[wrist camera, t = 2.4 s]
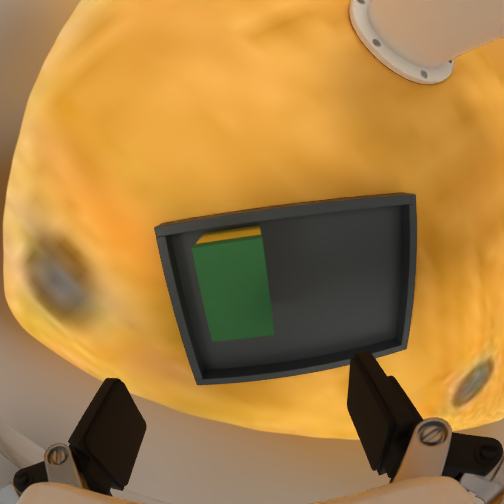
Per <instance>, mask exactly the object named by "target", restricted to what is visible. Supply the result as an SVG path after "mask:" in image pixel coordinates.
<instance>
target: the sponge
mask: <svg viewBox="0 0 504 504" xmlns="http://www.w3.org/2000/svg"><path fill="white" fill-rule="evenodd" d="M192 253H193V258H194V263H195V268H196V273H197V277H198V282H199V287H200V291H201V296H202V300H203V305H204V309H205V313H206V318H207V322H208V326H209V330H210V334H211V338H212V341H213V342H216V341H227V340H236V339H245V338H253V337H261V336H269V335H275V331H274V323H273V315H272V307H271V299H270V291H269V283H268V276H267V268H266V260H265V253H264V245H263V238H262V234H261V230H260V226H259V225H257V226H250V227H243V228H236V229H229V230H222V231H216V232H209V233H204V234H203V235H202V237H201V238H200V239H199V240H198V241H197V243H196V244H195V245H194V246H193V247H192Z"/></svg>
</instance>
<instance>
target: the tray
mask: <svg viewBox="0 0 504 504" xmlns="http://www.w3.org/2000/svg"><path fill="white" fill-rule="evenodd" d="M257 225H259V226H260V230H261V234H262V238H263V245H264V253H265V260H266V268H267V276H268V283H269V291H270V299H271V307H272V315H273V323H274V331H275V335H269V336H261V337H253V338H245V339H236V340H227V341H216V342H213V341H212V338H211V334H210V330H209V326H208V322H207V318H206V313H205V309H204V305H203V300H202V296H201V291H200V287H199V282H198V277H197V273H196V268H195V263H194V258H193V253H192V247H193V246H194V245H195V244H196V243H197V241H198V240H199V239H200V238H201V237H202V235H203V234H204V233H209V232H216V231H222V230H229V229H236V228H243V227H250V226H257ZM154 229H155V234H156V239H157V244H158V248H159V253H160V258H161V262H162V266H163V271H164V275H165V279H166V283H167V287H168V291H169V295H170V299H171V303H172V306H173V310H174V314H175V317H176V321H177V324H178V328H179V331H180V334H181V338H182V341H183V344H184V348H185V351H186V354H187V357H188V360H189V363H190V366H191V369H192V372H193V375H194V378H195V381H196V384H197V385H212V384H227V383H239V382H249V381H259V380H267V379H275V378H282V377H288V376H295V375H301V374H307V373H312V372H318V371H323V370H328V369H333V368H337V367H342V366H346V365H350V359H351V358H354V355H355V354H356V353H360V352H364V351H367V350H369V351H370V352H371V353H372V355H373V356H374V358H378V357H382V356H385V355H389V354H392V353H395V352H399V351H402V350H405V349H407V343H408V337H409V331H410V324H411V317H412V309H413V299H414V289H415V275H416V254H417V213H416V195H415V194H409V193H394V194H381V195H369V196H358V197H348V198H338V199H328V200H319V201H310V202H301V203H293V204H285V205H277V206H269V207H262V208H255V209H248V210H241V211H234V212H227V213H221V214H214V215H208V216H202V217H195V218H189V219H183V220H178V221H172V222H166V223H162V224H160V225H158V226H156V227H154Z"/></svg>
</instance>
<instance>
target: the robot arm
mask: <svg viewBox="0 0 504 504" xmlns="http://www.w3.org/2000/svg"><path fill="white" fill-rule="evenodd" d="M349 13H350V19H351V22H352V25H353V28H354V29H355V31H356V33H357V35H358V37H359V38H360V40H361V41H362V42H363V44H364V45H365V46H366V47H367V49H368V50H369V51H370V52H371V53H372V54H373V55H374V56H375V57H376V58H377V59H378V60H379V61H381V62H382V63H383V64H384V65H385V66H387V67H388V68H389V69H391V70H392V71H393V72H395V73H397V74H399V75H400V76H402V77H404V78H406V79H408V80H411V81H413V82H417V83H421V84H435V83H439V82H441V81H443V80H445V79H446V78H447V77H448V76H450V74H451V72H452V70H453V67H454V58H456V57H458V56H460V55H462V54H465V53H467V52H469V51H471V50H473V49H476V48H478V47H480V46H483V45H485V44H488V43H490V42H492V41H495V40H497V39H500V38H503V37H504V0H352V1H351V3H350V9H349ZM347 408H348V411H349V414H350V416H351V419H352V421H353V423H354V426H355V428H356V431H357V433H358V436H359V438H360V441H361V443H362V445H363V448H364V450H365V453H366V455H367V458H368V461H369V463H370V466H371V468H372V470H374V471H375V470H377V472H378V474H379V475H382V474H384V473H387V475H388V477H389V478H391V480H390V482H389V484H387V485H383V486H380V487H377V488H373V489H370V490H366V491H362V492H359V493H355V494H352V495H348V496H344V497H340V498H335V499H331V500H326V501H321V502H316V503H311V504H476V503H475V501H474V500H473V498H472V497H471V495H470V494H469V493H468V491H471V492H473V493H475V494H476V497H478V498H480V499H481V500H483V501H484V504H504V451H503V448H502V445H501V443H500V442H499V441H498V440H496V439H494V438H489V437H481V436H473V435H465V434H459V433H453V432H452V429H451V426H450V425H449V423H448V422H447V421H445V420H443V419H441V418H427V419H425V420H423V419H422V417H421V416H420V414H419V413H418V411H417V410H416V408H415V407H414V405H413V404H412V402H411V401H410V399H409V398H408V396H407V395H406V393H405V392H404V390H403V389H402V387H401V386H400V384H399V383H398V382H397V380H396V379H395V378H394V377H393V376H388V377H387V376H386V374H385V373H384V371H383V370H382V368H381V367H380V365H379V364H378V362H377V361H376V359H375V358H374V356H373V355H372V353H371V352H370V351H369V350H367V351H364V352H360V353H356V354H355V355H354V358H351V359H350V373H349V387H348V398H347ZM145 431H146V422H145V420H144V419H143V417H142V415H141V414H140V412H139V410H138V408H137V407H136V405H135V403H134V401H133V399H132V397H131V395H130V393H129V392H128V390H127V388H126V386H125V384H124V383H123V382H121V380H120V379H118V378H106V379H105V380H104V382H103V384H102V385H101V387H100V388H99V390H98V392H97V393H96V395H95V396H94V398H93V400H92V402H91V403H90V405H89V407H88V408H87V410H86V411H85V413H84V415H83V416H82V418H81V420H80V421H79V423H78V425H77V427H76V428H75V430H74V432H73V434H72V435H71V437H70V439H69V441H68V442H69V443H70V445H69V447H68V446H67V445H65V444H62V443H58V444H54V445H51V446H50V447H49V448H48V449H47V450H46V452H45V454H44V461H43V462H40V463H37V464H35V465H32V466H29V467H26V468H23V469H21V470H19V471H18V472H17V473H16V474H15V476H14V479H13V482H14V484H13V483H12V482H10V483H8V484H7V485H5V486H4V487H2V488H1V489H0V504H143V503H138V502H133V501H128V500H124V499H120V498H116V497H113V496H112V494H111V492H110V489H111V488H113V489H117V490H121V491H123V489H124V486H126V485H127V484H128V482H129V479H130V476H131V473H132V469H133V466H134V463H135V460H136V457H137V454H138V452H139V449H140V446H141V443H142V440H143V437H144V434H145Z"/></svg>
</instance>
